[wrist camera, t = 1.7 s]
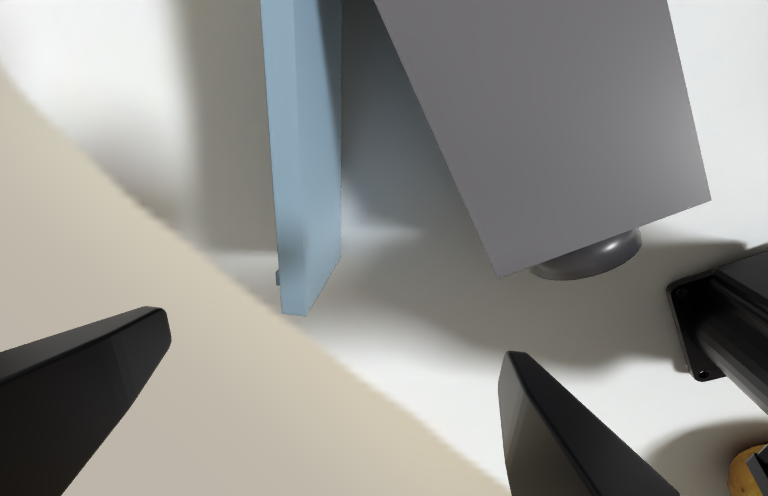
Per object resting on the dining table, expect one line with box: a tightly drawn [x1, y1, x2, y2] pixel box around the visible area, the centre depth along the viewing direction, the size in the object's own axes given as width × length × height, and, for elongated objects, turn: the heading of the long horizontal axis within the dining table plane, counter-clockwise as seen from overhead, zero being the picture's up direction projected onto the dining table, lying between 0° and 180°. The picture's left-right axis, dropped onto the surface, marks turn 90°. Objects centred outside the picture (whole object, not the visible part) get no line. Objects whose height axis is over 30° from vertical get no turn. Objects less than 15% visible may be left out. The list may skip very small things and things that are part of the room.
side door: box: [260, 0, 342, 316], centre depth 15 cm, size 15×2×6 cm, turn 177°
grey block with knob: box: [374, 0, 711, 280], centre depth 13 cm, size 17×7×7 cm, turn 27°
